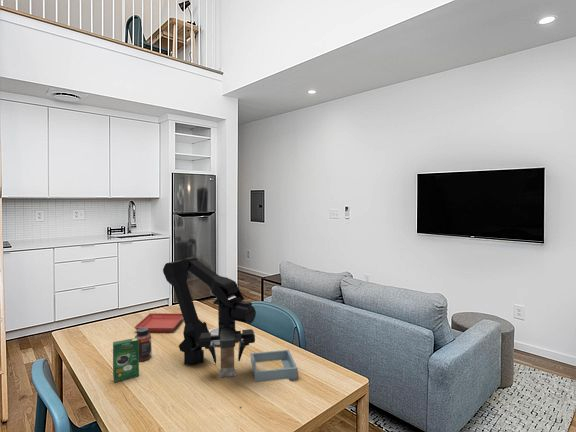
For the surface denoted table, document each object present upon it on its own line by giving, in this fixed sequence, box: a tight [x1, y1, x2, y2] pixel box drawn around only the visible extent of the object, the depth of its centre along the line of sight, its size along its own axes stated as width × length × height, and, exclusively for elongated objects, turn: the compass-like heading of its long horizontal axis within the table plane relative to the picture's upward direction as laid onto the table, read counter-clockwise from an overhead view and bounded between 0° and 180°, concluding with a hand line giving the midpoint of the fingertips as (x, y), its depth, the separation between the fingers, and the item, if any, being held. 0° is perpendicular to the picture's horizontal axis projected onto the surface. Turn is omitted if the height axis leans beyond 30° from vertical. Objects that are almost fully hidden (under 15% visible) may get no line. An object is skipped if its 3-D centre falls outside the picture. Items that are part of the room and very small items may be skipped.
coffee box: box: [112, 337, 140, 383], centre depth 123 cm, size 8×3×13 cm, turn 123°
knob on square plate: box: [219, 368, 237, 379], centre depth 124 cm, size 5×5×3 cm
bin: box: [250, 349, 299, 382], centre depth 128 cm, size 14×14×4 cm
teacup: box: [208, 327, 220, 347], centre depth 150 cm, size 10×8×5 cm
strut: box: [220, 347, 235, 378], centre depth 124 cm, size 4×4×10 cm
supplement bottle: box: [134, 328, 153, 362], centre depth 137 cm, size 6×6×11 cm
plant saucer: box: [134, 312, 184, 333], centre depth 170 cm, size 18×18×3 cm
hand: (227, 361), depth 124 cm, fingers open, 8 cm apart
